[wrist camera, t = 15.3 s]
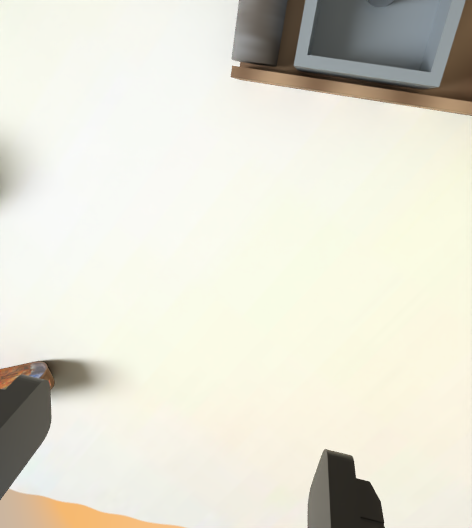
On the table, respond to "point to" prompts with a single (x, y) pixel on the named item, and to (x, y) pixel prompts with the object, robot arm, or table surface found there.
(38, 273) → the table surface
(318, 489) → the robot arm
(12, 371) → the tin
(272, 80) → the bay
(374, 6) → the tray with upright post
